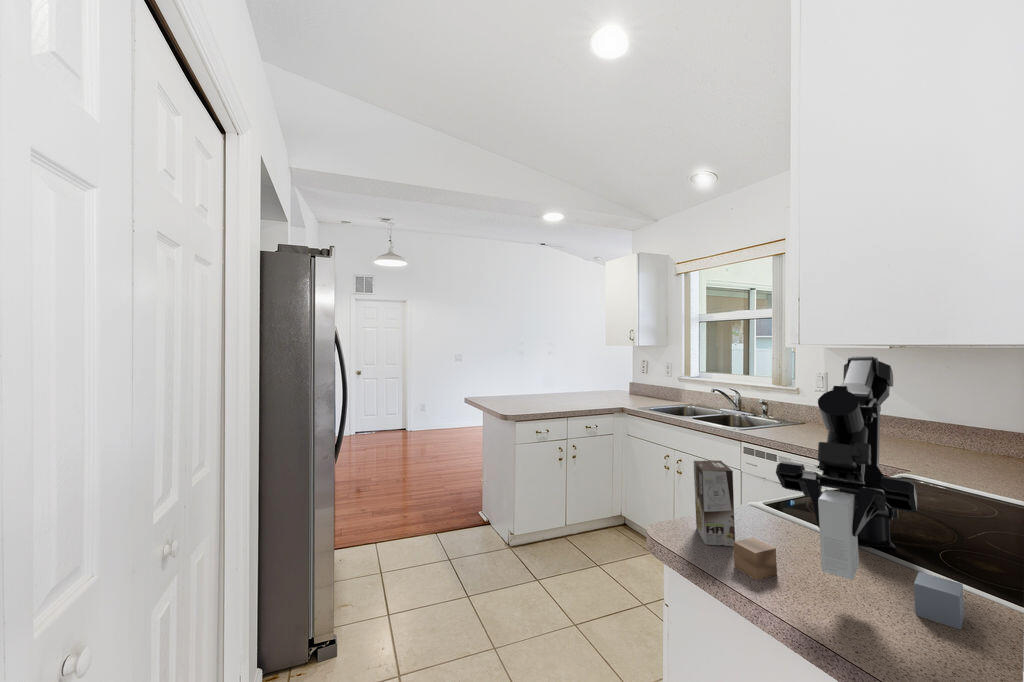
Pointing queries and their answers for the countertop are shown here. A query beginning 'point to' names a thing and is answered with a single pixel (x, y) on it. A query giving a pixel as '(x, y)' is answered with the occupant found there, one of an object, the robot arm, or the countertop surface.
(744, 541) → the walnut block
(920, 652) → the countertop surface
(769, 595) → the countertop surface
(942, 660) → the countertop surface
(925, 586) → the slate block
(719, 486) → the coffee box
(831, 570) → the skincare box
